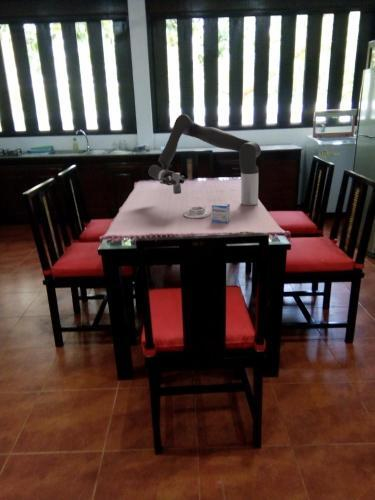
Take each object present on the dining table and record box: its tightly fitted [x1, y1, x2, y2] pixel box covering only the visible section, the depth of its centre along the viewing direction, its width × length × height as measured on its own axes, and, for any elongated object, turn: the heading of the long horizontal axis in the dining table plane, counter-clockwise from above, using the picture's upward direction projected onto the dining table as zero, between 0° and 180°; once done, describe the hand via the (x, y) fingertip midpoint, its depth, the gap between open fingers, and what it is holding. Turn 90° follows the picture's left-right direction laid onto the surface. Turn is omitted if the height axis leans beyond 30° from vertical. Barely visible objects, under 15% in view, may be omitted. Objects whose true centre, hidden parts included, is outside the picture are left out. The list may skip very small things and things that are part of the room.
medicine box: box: [211, 203, 231, 224], centre depth 189 cm, size 8×4×9 cm, turn 68°
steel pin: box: [172, 172, 182, 195], centre depth 200 cm, size 4×4×10 cm
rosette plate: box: [183, 206, 212, 219], centre depth 204 cm, size 14×14×3 cm
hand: (178, 182), depth 198 cm, fingers closed on steel pin, 4 cm apart
